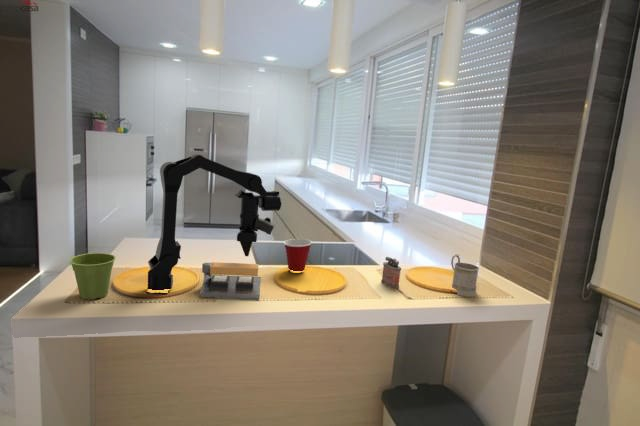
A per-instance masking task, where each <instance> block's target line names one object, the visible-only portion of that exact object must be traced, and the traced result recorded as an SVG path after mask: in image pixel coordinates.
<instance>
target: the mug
mask: <svg viewBox="0 0 640 426" xmlns="http://www.w3.org/2000/svg"><path fill="white" fill-rule="evenodd" d="M460 256H461V255H460V254H457V253H456V254H454V255H453V256H452V258H451V261H450V263H451V268H452V270H453V278H452V284H451V286H452V288H454V289H456V290H457V291H458V292H457V294H456V295H457V296H462V297H468V298H469V297H470V298H471V297H477V296H478V292H477V289H476V287H477V279H478V275H479V271H480V267H479V266H477V265H474V264H471V263H469V262H467V263H466V262H461V259H460ZM455 257H456V258H457V262H456V263H454V259H455Z"/></svg>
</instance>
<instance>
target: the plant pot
mask: <svg viewBox="0 0 640 426" xmlns="http://www.w3.org/2000/svg"><path fill="white" fill-rule="evenodd" d="M116 259H117V257H116V255H114V254H111V253H107V252H106V253H105V252H90V253H82V254H78V255H75V256H72V257H71V258H70V259H69V260H68V263H69V264H71V266H72V267H71V268H72V271H74V276H75V280H76V281H75V282H76V285H77V289H78V294H79V297H80V298H81V299H83V300H90V301H92V300H93V301H94V300H96V299H103V298H105V297H106V296H107V295H108V294H109V289H110V281H111V276H112V272H113V271H112V270H113V267H114V262H115V261H116Z"/></svg>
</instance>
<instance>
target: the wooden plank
mask: <svg viewBox="0 0 640 426" xmlns="http://www.w3.org/2000/svg"><path fill="white" fill-rule="evenodd" d="M201 269H202V270H201V273H203V274H204V273H206V274H209V273H210V274H212V275H228V276H254V277H259V276H258V275H259V274H258V273H259V263H242V262H241V263H240V262H239V263H237V262H219V261H218V262H217V261H216V262H215V261H212V262H203V263H202V268H201Z"/></svg>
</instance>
